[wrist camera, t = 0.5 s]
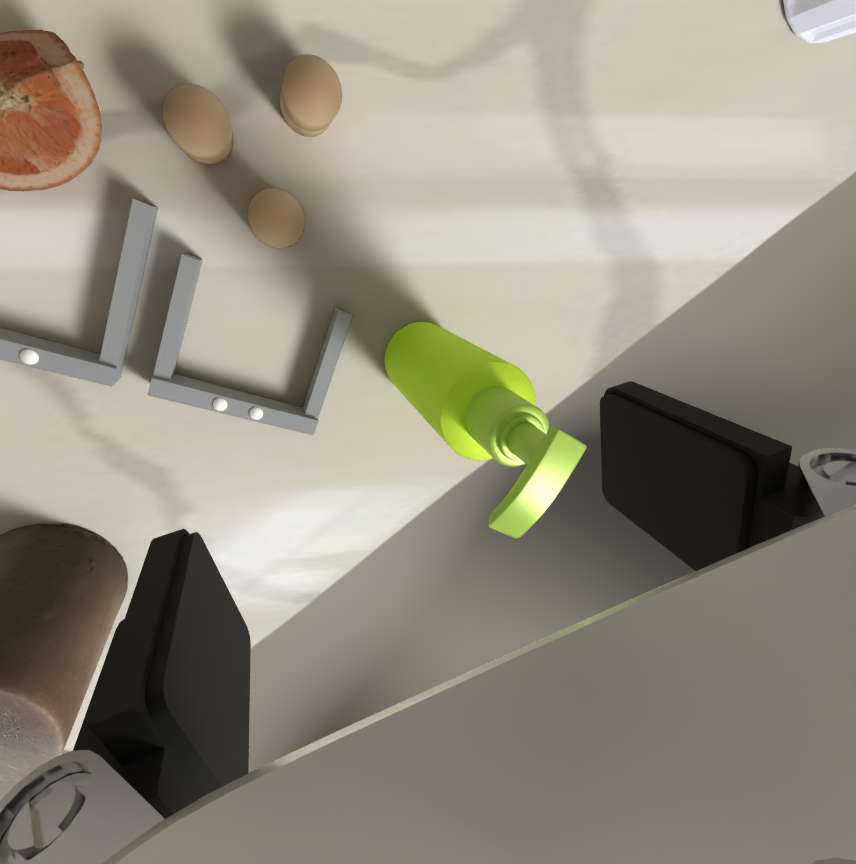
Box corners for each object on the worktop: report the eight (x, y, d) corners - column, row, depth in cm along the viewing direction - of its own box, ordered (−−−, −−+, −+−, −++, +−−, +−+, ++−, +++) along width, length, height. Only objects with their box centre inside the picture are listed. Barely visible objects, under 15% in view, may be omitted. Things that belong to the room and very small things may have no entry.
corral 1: (-134, 93, 24) (-170, 80, 22) (157, 207, 29) (150, 206, 27) (-148, 309, 26) (-181, 316, 24) (120, 377, 32) (111, 386, 30)
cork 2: (256, 184, 30) (256, 177, 27) (305, 206, 32) (311, 203, 28) (242, 234, 31) (241, 234, 28) (291, 253, 32) (295, 256, 29)
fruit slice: (66, 20, 25) (25, -25, 21) (146, 158, 28) (126, 145, 24) (-97, 77, 24) (-176, 42, 19) (6, 214, 27) (-43, 211, 23)
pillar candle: (82, 502, 34) (-33, 673, 21) (153, 597, 38) (95, 787, 25) (-64, 557, 32) (-289, 780, 19) (27, 649, 37) (-105, 881, 24)
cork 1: (181, 91, 27) (170, 70, 24) (239, 119, 29) (236, 104, 25) (168, 149, 28) (156, 137, 25) (225, 174, 29) (221, 166, 26)
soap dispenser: (364, 384, 37) (457, 519, 20) (408, 307, 36) (550, 377, 19) (423, 415, 40) (552, 557, 23) (466, 344, 39) (638, 436, 21)
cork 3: (288, 64, 28) (292, 41, 25) (338, 93, 30) (349, 74, 26) (273, 120, 29) (275, 106, 26) (323, 146, 31) (331, 135, 27)
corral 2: (185, 253, 30) (180, 254, 28) (348, 312, 35) (353, 317, 33) (154, 385, 33) (147, 395, 31) (310, 424, 37) (313, 435, 35)
